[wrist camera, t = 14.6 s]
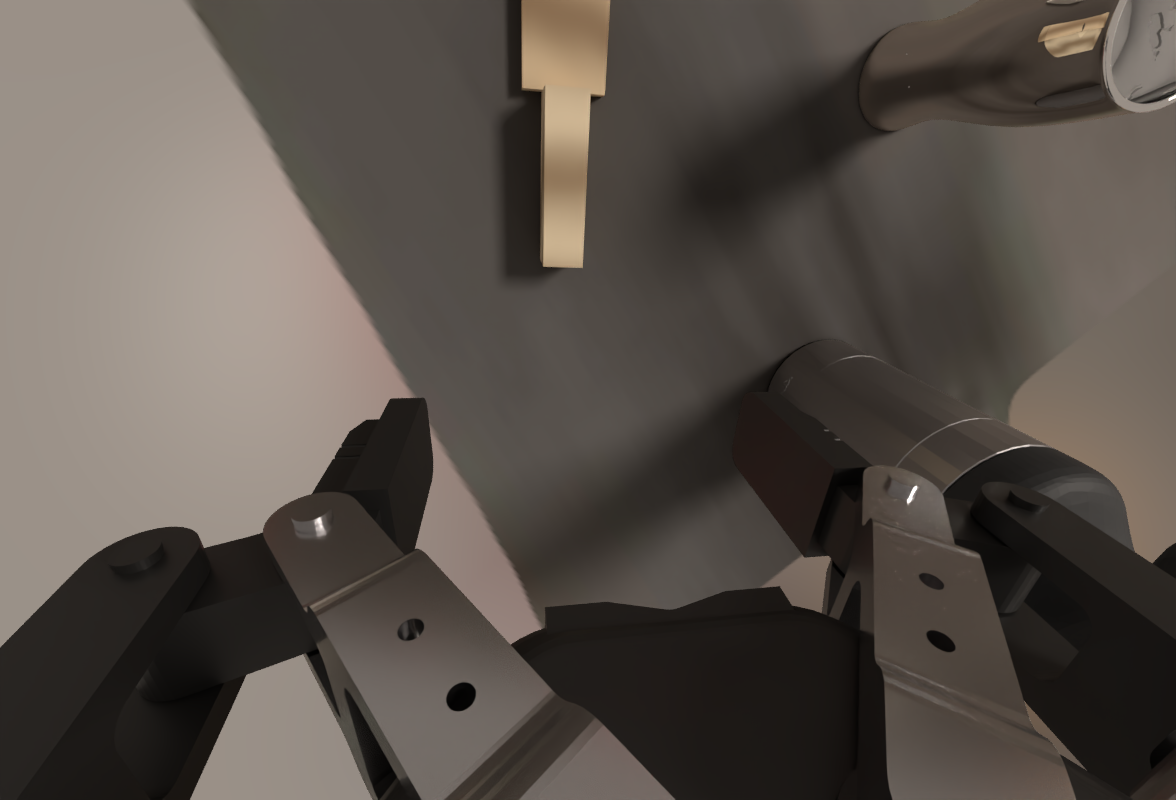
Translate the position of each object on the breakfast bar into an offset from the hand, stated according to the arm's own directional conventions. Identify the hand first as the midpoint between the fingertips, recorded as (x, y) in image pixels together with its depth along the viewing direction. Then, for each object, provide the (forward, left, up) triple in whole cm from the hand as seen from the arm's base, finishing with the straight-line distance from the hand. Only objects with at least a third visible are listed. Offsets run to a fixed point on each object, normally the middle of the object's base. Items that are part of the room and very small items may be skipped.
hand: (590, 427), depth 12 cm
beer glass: (-25, -12, -24) cm, 37 cm away
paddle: (-2, -8, -24) cm, 26 cm away
